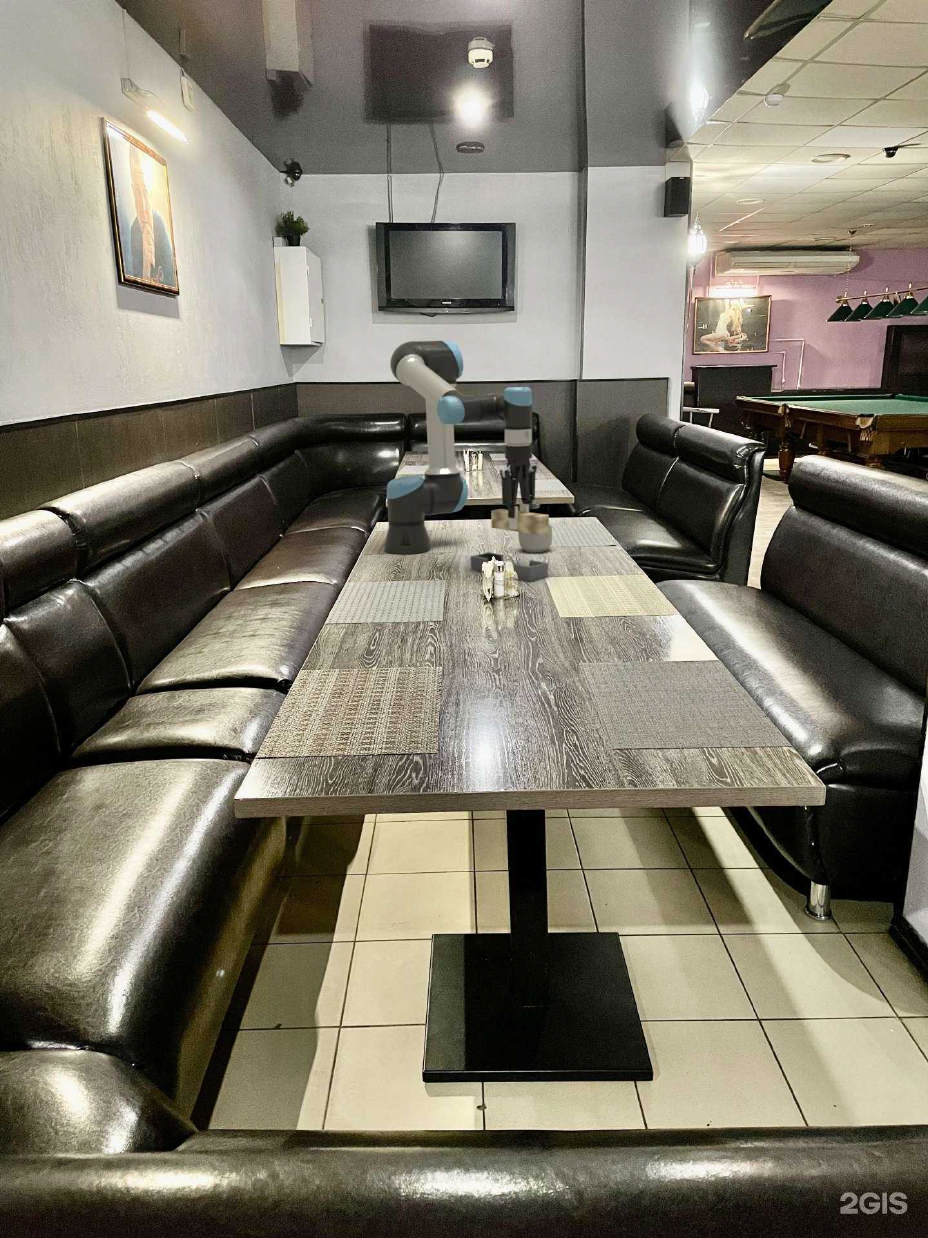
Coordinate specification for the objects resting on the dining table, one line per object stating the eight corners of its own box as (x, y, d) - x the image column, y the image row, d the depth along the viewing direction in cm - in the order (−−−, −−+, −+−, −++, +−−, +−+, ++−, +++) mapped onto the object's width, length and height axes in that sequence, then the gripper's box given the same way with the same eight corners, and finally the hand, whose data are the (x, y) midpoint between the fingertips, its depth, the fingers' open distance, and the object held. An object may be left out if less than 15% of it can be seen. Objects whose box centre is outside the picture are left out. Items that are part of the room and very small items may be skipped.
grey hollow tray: (547, 577, 244) (548, 563, 243) (530, 582, 239) (530, 567, 238) (531, 573, 249) (531, 560, 247) (514, 578, 244) (513, 564, 242)
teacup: (553, 553, 273) (553, 528, 271) (518, 554, 273) (518, 529, 271) (549, 544, 286) (550, 520, 284) (516, 545, 287) (516, 521, 284)
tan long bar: (491, 527, 254) (491, 510, 252) (500, 525, 257) (500, 508, 255) (539, 534, 242) (539, 516, 240) (548, 532, 244) (548, 514, 243)
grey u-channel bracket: (471, 569, 255) (470, 556, 254) (488, 565, 260) (488, 552, 259) (485, 572, 251) (485, 559, 250) (503, 568, 256) (503, 554, 255)
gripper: (508, 447, 234) (509, 533, 241) (548, 442, 246) (548, 524, 252) (487, 446, 239) (489, 530, 246) (527, 441, 251) (528, 521, 257)
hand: (518, 527), depth 249 cm, fingers closed on tan long bar, 4 cm apart
